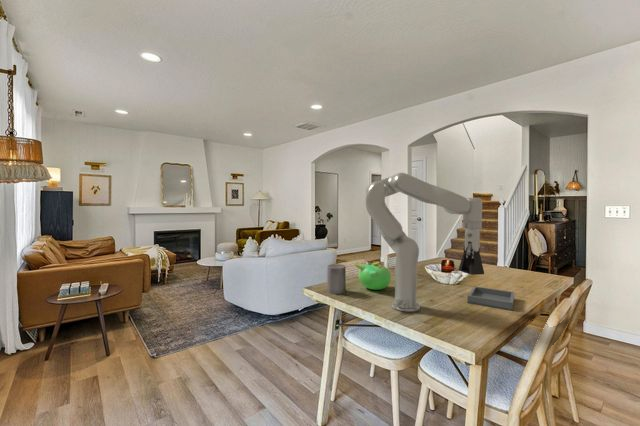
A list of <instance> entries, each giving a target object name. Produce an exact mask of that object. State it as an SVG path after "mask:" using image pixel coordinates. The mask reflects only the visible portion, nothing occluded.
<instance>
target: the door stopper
mask: <svg viewBox="0 0 640 426" xmlns="http://www.w3.org/2000/svg"><path fill="white" fill-rule="evenodd" d="M466 249H467V248H466ZM471 251H473V250H471ZM480 252H481V248H479V251H477V252H475V251H474V265H473V263H472V265H471V263H470V266H469V267H466V255H467V251H465V245H464V246H463V252H462V257H461V260H460V263H459V267H458V271H459V272H462V273H466V274H468V275H471V276H475V275H476V276H479V275H485V271H484V270H485V269H484V266H483V263H482V257H481V253H480Z"/></svg>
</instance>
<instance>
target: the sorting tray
mask: <svg viewBox="0 0 640 426" xmlns="http://www.w3.org/2000/svg"><path fill="white" fill-rule="evenodd" d="M514 303H515V291H510V290H509V291H508V290H503V289H498V288H497V289H495V288H488V287H483V286H473V287H472V288H471V290H470V292H469V293H468V294H467V304H471V305H478V306H483V307H488V308H493V309H500V310H506V311H510V312H511V311H513V310H514Z"/></svg>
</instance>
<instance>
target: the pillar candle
mask: <svg viewBox="0 0 640 426" xmlns="http://www.w3.org/2000/svg"><path fill="white" fill-rule="evenodd" d="M326 267H327V269H326V271H327V277H326V279H327V284H326V285H327V290H326V291H327V293H328V294H331V295H343V294H345V293H346V291H347V288H346V287H347V285H346V283H347V282H346V278H347V277H346V272H347V271H346V268H347V267H346V265H345V264H340V263H339V264H338V263H334V264H333V263H331V264H329V265H327V266H326Z"/></svg>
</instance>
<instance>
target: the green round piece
mask: <svg viewBox="0 0 640 426" xmlns="http://www.w3.org/2000/svg"><path fill="white" fill-rule="evenodd" d="M353 265H354V266H355V267H356V268H357V269H359V270H358V274H357V275H358V281H359V282H360V284H361V285H362V286H364V287H365V288H367V289H369V290H372V291H377V290H383V289H385V288H387V286H389V285H390V284H391V279H392V276H391V272H390V271H389V269H388V268H387V267H386V266H384V265H382V264H381V261H376V262H372V263H371V262H370V263H367V264H359V263H354V264H353Z"/></svg>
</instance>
